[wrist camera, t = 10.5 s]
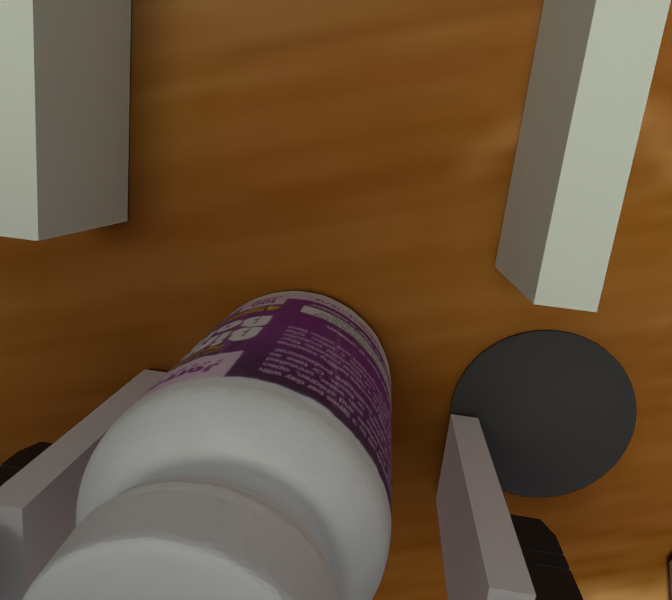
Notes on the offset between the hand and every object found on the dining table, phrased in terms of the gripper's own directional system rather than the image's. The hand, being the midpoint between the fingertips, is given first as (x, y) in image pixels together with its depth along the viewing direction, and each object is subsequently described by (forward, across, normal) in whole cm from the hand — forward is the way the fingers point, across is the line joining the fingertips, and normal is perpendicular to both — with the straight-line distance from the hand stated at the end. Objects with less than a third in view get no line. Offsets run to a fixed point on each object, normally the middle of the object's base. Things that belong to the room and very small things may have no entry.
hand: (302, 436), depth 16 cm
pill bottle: (+1, 0, +2) cm, 2 cm away
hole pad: (0, +6, +2) cm, 7 cm away
